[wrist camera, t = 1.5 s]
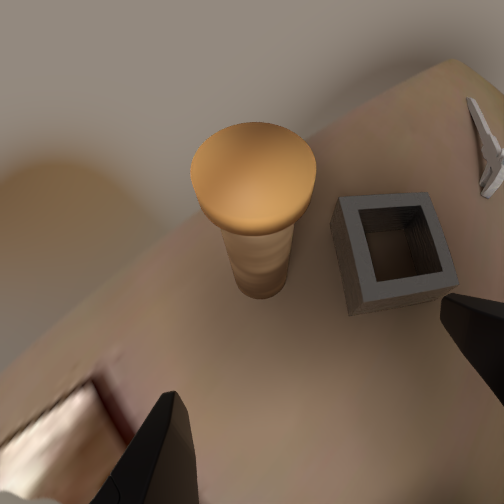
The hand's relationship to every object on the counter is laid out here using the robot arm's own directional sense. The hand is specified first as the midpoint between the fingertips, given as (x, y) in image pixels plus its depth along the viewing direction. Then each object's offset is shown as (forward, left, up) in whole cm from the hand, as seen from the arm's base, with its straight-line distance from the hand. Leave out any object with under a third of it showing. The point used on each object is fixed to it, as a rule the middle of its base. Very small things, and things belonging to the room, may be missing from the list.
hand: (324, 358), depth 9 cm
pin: (+5, -6, -14) cm, 16 cm away
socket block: (-4, -11, -14) cm, 18 cm away
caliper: (-14, -34, -14) cm, 39 cm away
